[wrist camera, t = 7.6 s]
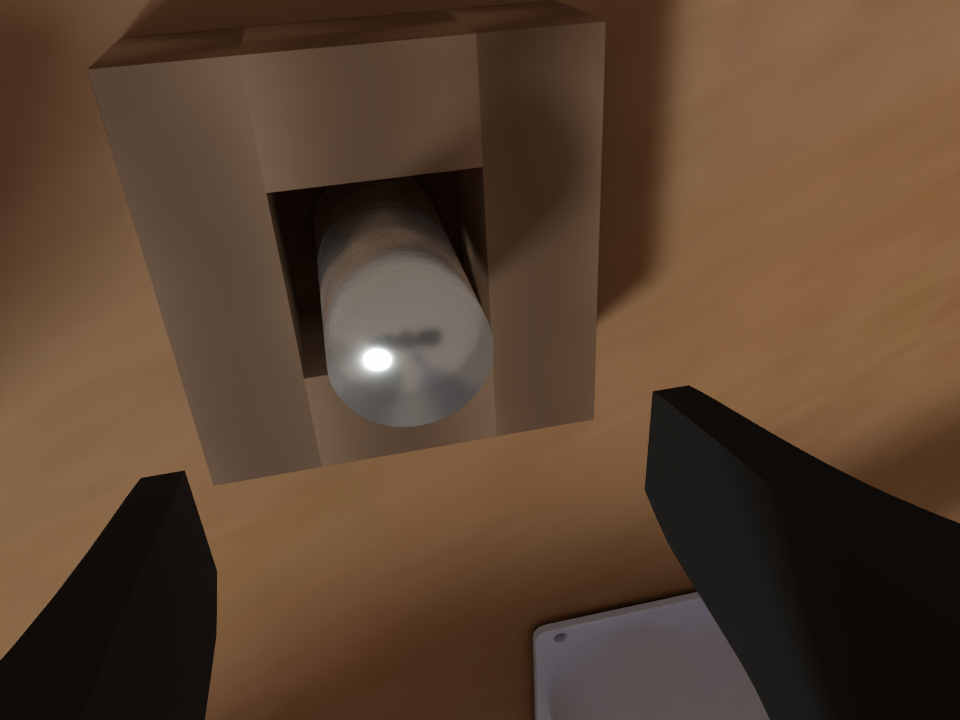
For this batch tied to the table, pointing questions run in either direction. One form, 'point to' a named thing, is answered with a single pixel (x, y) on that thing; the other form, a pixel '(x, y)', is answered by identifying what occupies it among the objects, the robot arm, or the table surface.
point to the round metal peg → (396, 305)
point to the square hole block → (355, 158)
